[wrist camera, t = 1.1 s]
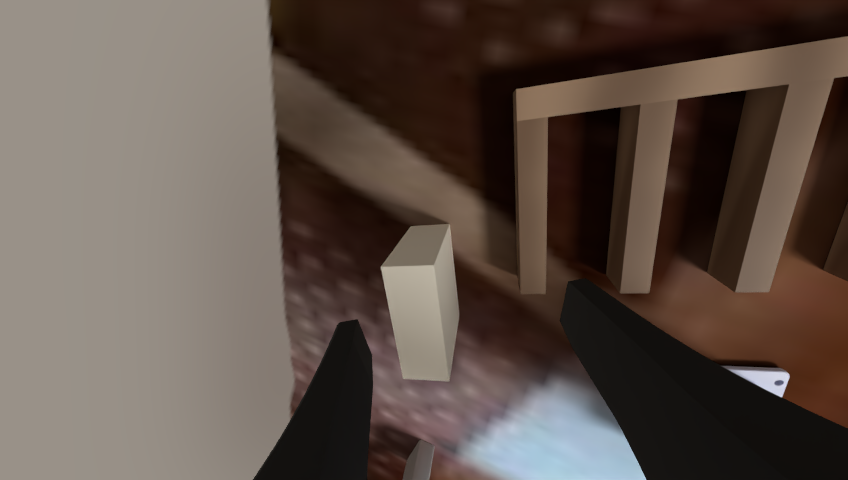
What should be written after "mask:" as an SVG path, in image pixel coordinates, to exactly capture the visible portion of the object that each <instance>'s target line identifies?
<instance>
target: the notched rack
mask: <svg viewBox="0 0 848 480" xmlns="http://www.w3.org/2000/svg"><path fill="white" fill-rule="evenodd" d="M845 76H848V36H846V37H840V38H834V39H827V40H821V41H815V42H809V43H802V44H796V45H790V46H784V47H777V48H771V49H765V50H759V51H752V52H746V53H740V54H733V55H727V56H721V57H715V58H708V59H702V60H696V61H690V62H683V63H677V64H671V65H665V66H658V67H652V68H646V69H640V70H633V71H627V72H621V73H615V74H608V75H602V76H596V77H589V78H583V79H577V80H571V81H564V82H558V83H552V84H546V85H539V86H533V87H527V88H521V89H516V90H515V91H514V92H513V121H514V159H515V198H516V236H517V275H518V282H519V287H520V293H521V294H546V239H547V147H548V117H551V116H559V115H566V114H573V113H581V112H588V111H596V110H603V109H610V108H618V107H621V111H620V123H619V134H618V145H617V157H616V168H615V179H614V191H613V202H612V213H611V225H610V236H609V247H608V259H607V270H606V275H607V277H608V278H609V279H610V281H611V282H612V283H613V285H614V286H615V287H616V289H617V290H618V291H619V293H649V290H650V284H651V277H652V270H653V263H654V256H655V250H656V243H657V236H658V229H659V222H660V216H661V209H662V202H663V195H664V189H665V182H666V175H667V168H668V161H669V155H670V148H671V141H672V134H673V127H674V121H675V114H676V107H677V100H678V99H684V98H691V97H698V96H706V95H713V94H720V93H728V92H735V91H742V90H747V91H746V95H745V100H744V105H743V109H742V114H741V118H740V123H739V128H738V132H737V137H736V141H735V146H734V151H733V155H732V160H731V164H730V169H729V174H728V178H727V183H726V187H725V192H724V196H723V201H722V206H721V210H720V215H719V219H718V224H717V229H716V233H715V238H714V242H713V247H712V252H711V256H710V261H709V265H708V270H707V273H708V274H710V275H711V276H713V277H714V278H715V279H717V280H718V281H720V282H721V283H723V284H724V285H725V286H727V287H728V288H730V289H731V290H732V291H734V292H769V290H770V287H771V284H772V280H773V277H774V274H775V270H776V267H777V264H778V261H779V257H780V254H781V251H782V247H783V244H784V241H785V238H786V234H787V231H788V228H789V224H790V221H791V218H792V215H793V211H794V208H795V205H796V202H797V198H798V195H799V192H800V188H801V185H802V182H803V179H804V175H805V172H806V169H807V165H808V162H809V159H810V156H811V152H812V149H813V146H814V143H815V139H816V136H817V133H818V129H819V126H820V123H821V120H822V116H823V113H824V110H825V106H826V103H827V100H828V97H829V93H830V90H831V87H832V84H833V80H834V78H838V77H845ZM823 270H824V271H826V272H828V273H831V274H833V275H835V276H837V277H839V278H842V279H844V280H846V281H848V203H847V205H846V208H845V211H844V214H843V216H842V219H841V222H840V225H839V227H838V230H837V233H836V236H835V238H834V241H833V244H832V246H831V249H830V252H829V255H828V257H827V260H826V263H825V266H824V268H823Z"/></svg>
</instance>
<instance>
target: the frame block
mask: <svg viewBox="0 0 848 480" xmlns="http://www.w3.org/2000/svg"><path fill="white" fill-rule="evenodd" d="M381 271H382V276H383V281H384V286H385V291H386V296H387V301H388V306H389V311H390V316H391V321H392V326H393V331H394V336H395V341H396V346H397V351H398V356H399V361H400V366H401V371H402V376H403V379H417V380H434V381H449V380H450V373H451V367H452V360H453V354H454V347H455V341H456V334H457V328H458V321H459V306H458V297H457V287H456V278H455V268H454V259H453V250H452V240H451V231H450V224H438V225H422V226H411V227H410V228H409V229H408V231H407V232H406V233H405V235H404V236H403V237H402V239H401V240H400V241H399V243H398V244H397V246H396V247H395V248H394V250H393V251H392V252H391V254H390V255H389V256H388V258H387V259H386V260H385V262H384V263H383V264H382V266H381Z"/></svg>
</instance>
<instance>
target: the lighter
mask: <svg viewBox="0 0 848 480" xmlns="http://www.w3.org/2000/svg"><path fill="white" fill-rule="evenodd" d="M433 453H434V445H432V444H430V443H427V442H425V441H423V440H419V442H418V443H417V445H416V446H415V448H414V450H413V451H412V453H411V454H410V456H409V458H408V459H407V463H406V467H405V472H404V476H403V480H429V478H430V472H431V465H432V459H433Z"/></svg>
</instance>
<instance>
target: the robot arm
mask: <svg viewBox="0 0 848 480" xmlns="http://www.w3.org/2000/svg"><path fill="white" fill-rule="evenodd" d="M560 322H561V324H562V326H563V329H564V331H565V333H566V335H567V337H568V340H569V342H570V344H571V346H572V348H573V350H574V351H575V353H576V355H577V356H578V358H579V360H580V361H581V363H582V365H583V366H584V368H585V370H586V371H587V373H588V374H589V376H590V378H591V379H592V381H593V382H594V384H595V386H596V387H597V389H598V391H599V392H600V394H601V395H602V397H603V399H604V400H605V402H606V403H607V405H608V407H609V408H610V410H611V412H612V413H613V415H614V417H615V418H616V420H617V422H618V424H619V425H620V427H621V429H622V431H623V433H624V435H625V437H626V439H627V441H628V443H629V445H630V447H631V449H632V451H633V453H634V455H635V457H636V459H637V461H638V463H639V465H640V467H641V469H642V471H643V473H644V475H645V477H646V479H647V480H848V428H845V427H843V426H841V425H839V424H836V423H834V422H832V421H830V420H828V419H826V418H823V417H821V416H819V415H817V414H815V413H813V412H810V411H808V410H806V409H804V408H802V407H800V406H798V405H796V404H794V403H792V402H790V401H788V400H786V399H784V398H782V396H783V393H784V390H785V388H786V385H787V382H788V380H789V374H788V373H787V372H786V371H785V370H784V369H782V368H766V367H740V366H720V365H719V364H717V363H715V362H713V361H711V360H710V359H708V358H706V357H705V356H703V355H701V354H699V353H698V352H696V351H694V350H693V349H691V348H689V347H688V346H686V345H685V344H683V343H681V342H680V341H678V340H676V339H675V338H673V337H671V336H670V335H668V334H667V333H665V332H664V331H662V330H661V329H659V328H657V327H656V326H654V325H653V324H651V323H650V322H648V321H647V320H645V319H644V318H642V317H641V316H639V315H638V314H636V313H635V312H634V311H632V310H631V309H629V308H628V307H626V306H625V305H623V304H622V303H620V302H619V301H618V300H616V299H615V298H613V297H612V296H610V295H609V294H608V293H606V292H605V291H603V290H602V289H601V288H599V287H598V286H596V285H595V284H593V283H592V282H590V281H589V280H588V279H586V278H585V279H579V280H574V281H568V284H567V289H566V294H565V299H564V304H563V308H562V313H561V318H560ZM372 392H373V371H372V354H371V352H370V349H369V347H368V344H367V342H366V339H365V337H364V334H363V332H362V329H361V327H360V324H359V322H358V319H357V320H351V321H345V322H340V323H339V324H338V325H337V327H336V329H335V332H334V334H333V337H332V339H331V341H330V343H329V346H328V348H327V350H326V352H325V354H324V357H323V359H322V361H321V363H320V365H319V367H318V369H317V371H316V373H315V375H314V377H313V379H312V381H311V383H310V385H309V387H308V389H307V391H306V393H305V395H304V397H303V398H302V400H301V402H300V404H299V406H298V407H297V409H296V411H295V413H294V415H293V416H292V418H291V420H290V422H289V424H288V425H287V427H286V429H285V430H284V432H283V434H282V436H281V437H280V439H279V440H278V442H277V444H276V445H275V447H274V449H273V450H272V451H271V453H270V455H269V456H268V458H267V459H266V461H265V462H264V464H263V466H262V467H261V468H260V470H259V471H258V473H257V475H256V476H255V477H254V479H253V480H367V463H368V447H369V434H370V420H371V406H372Z"/></svg>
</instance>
